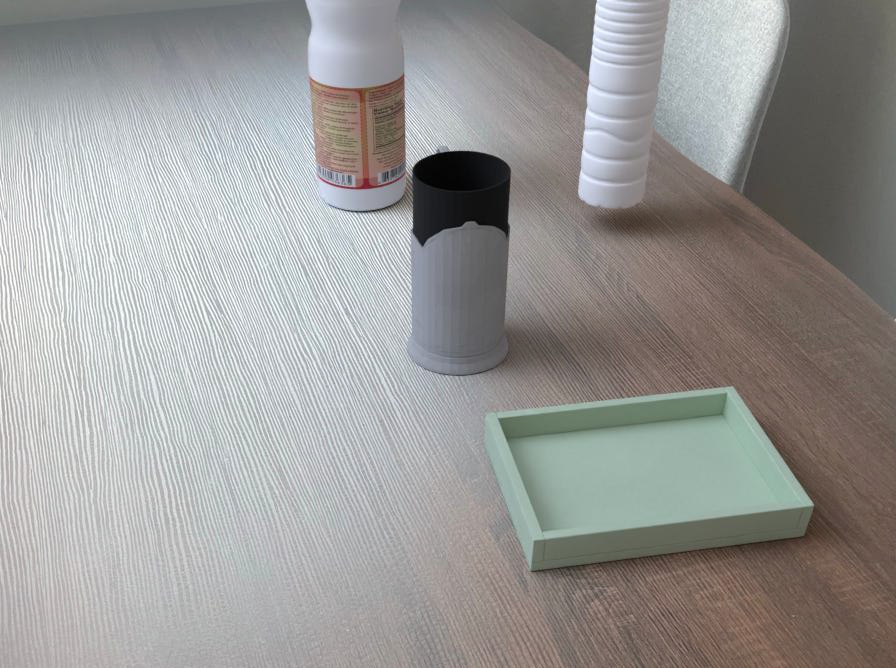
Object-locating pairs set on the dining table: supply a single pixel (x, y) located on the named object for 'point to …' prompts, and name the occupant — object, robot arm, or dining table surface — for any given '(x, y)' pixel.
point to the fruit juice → (357, 102)
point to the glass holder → (459, 261)
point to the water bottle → (621, 100)
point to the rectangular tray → (641, 478)
